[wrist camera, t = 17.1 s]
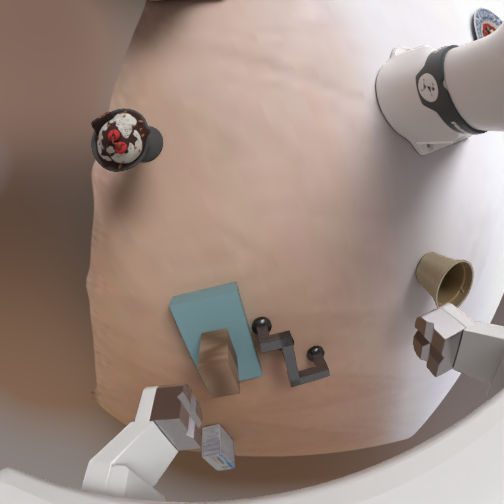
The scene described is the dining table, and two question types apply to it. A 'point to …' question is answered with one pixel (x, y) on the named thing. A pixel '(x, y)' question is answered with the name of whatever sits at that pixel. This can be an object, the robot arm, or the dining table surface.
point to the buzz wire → (290, 353)
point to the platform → (217, 324)
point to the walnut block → (218, 363)
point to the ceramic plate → (485, 22)
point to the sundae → (124, 140)
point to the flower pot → (445, 278)
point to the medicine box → (217, 447)
